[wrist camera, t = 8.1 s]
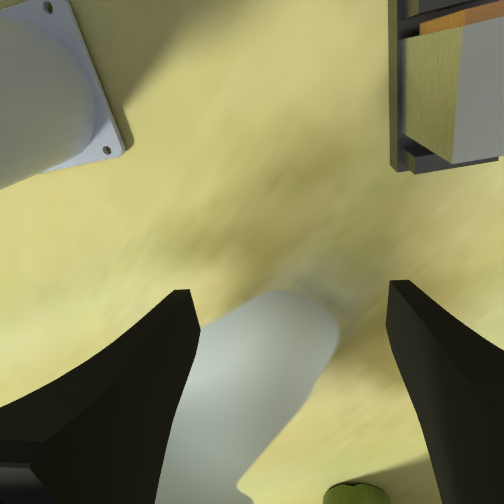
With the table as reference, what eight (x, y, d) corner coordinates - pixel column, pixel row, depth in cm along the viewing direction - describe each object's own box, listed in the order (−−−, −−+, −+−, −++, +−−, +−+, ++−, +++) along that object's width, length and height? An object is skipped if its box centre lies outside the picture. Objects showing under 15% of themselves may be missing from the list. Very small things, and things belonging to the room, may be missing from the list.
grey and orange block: (401, 132, 16) (451, 164, 11) (402, 28, 14) (463, 9, 9) (479, 117, 16) (571, 144, 11) (491, 6, 14) (612, -28, 8)
